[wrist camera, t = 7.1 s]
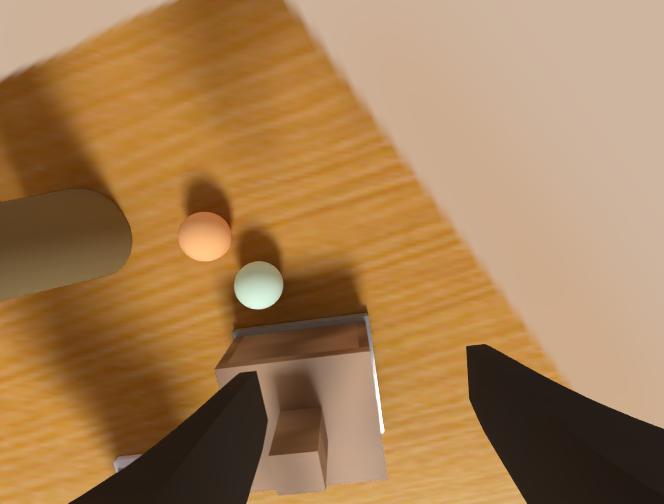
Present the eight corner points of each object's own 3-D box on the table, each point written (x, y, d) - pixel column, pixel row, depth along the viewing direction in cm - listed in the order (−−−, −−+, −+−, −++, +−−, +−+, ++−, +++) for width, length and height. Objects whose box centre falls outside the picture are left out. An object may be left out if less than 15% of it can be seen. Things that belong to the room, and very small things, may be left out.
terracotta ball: (242, 251, 20) (226, 263, 17) (199, 257, 20) (175, 270, 17) (232, 206, 20) (213, 210, 17) (187, 213, 20) (161, 218, 17)
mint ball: (290, 295, 21) (282, 314, 18) (248, 300, 21) (233, 320, 18) (282, 253, 20) (272, 265, 17) (238, 259, 20) (221, 272, 17)
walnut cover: (365, 320, 21) (376, 386, 14) (380, 431, 23) (396, 534, 16) (236, 337, 21) (188, 407, 15) (262, 443, 23) (230, 547, 17)
